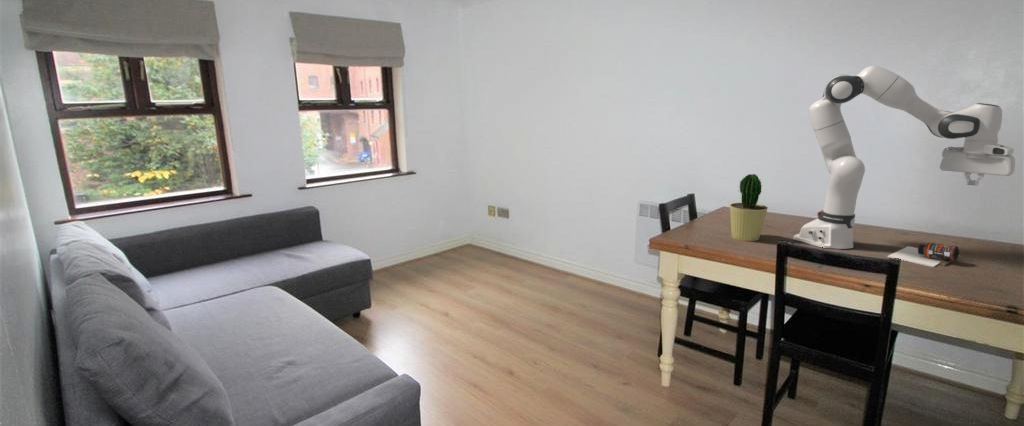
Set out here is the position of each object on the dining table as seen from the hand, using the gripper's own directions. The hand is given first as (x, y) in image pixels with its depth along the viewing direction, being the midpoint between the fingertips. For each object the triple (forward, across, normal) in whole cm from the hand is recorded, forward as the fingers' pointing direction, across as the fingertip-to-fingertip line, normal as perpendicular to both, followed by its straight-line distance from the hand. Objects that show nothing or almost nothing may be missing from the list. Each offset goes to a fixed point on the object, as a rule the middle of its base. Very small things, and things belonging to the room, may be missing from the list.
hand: (972, 185), depth 181 cm
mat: (+30, -10, -6) cm, 32 cm away
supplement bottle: (+25, +1, -7) cm, 26 cm away
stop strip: (+30, -1, -6) cm, 30 cm away
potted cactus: (+29, -65, -38) cm, 80 cm away
